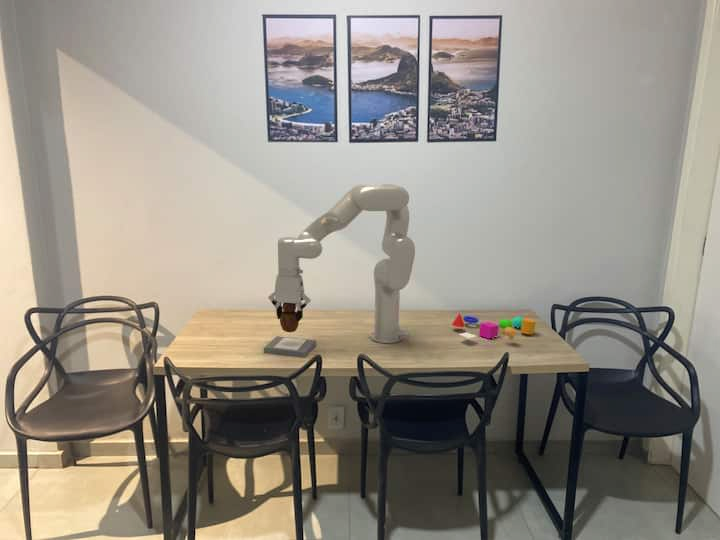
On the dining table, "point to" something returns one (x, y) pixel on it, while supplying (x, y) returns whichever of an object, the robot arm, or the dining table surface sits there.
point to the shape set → (497, 326)
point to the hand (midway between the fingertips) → (289, 318)
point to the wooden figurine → (289, 317)
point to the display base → (290, 346)
